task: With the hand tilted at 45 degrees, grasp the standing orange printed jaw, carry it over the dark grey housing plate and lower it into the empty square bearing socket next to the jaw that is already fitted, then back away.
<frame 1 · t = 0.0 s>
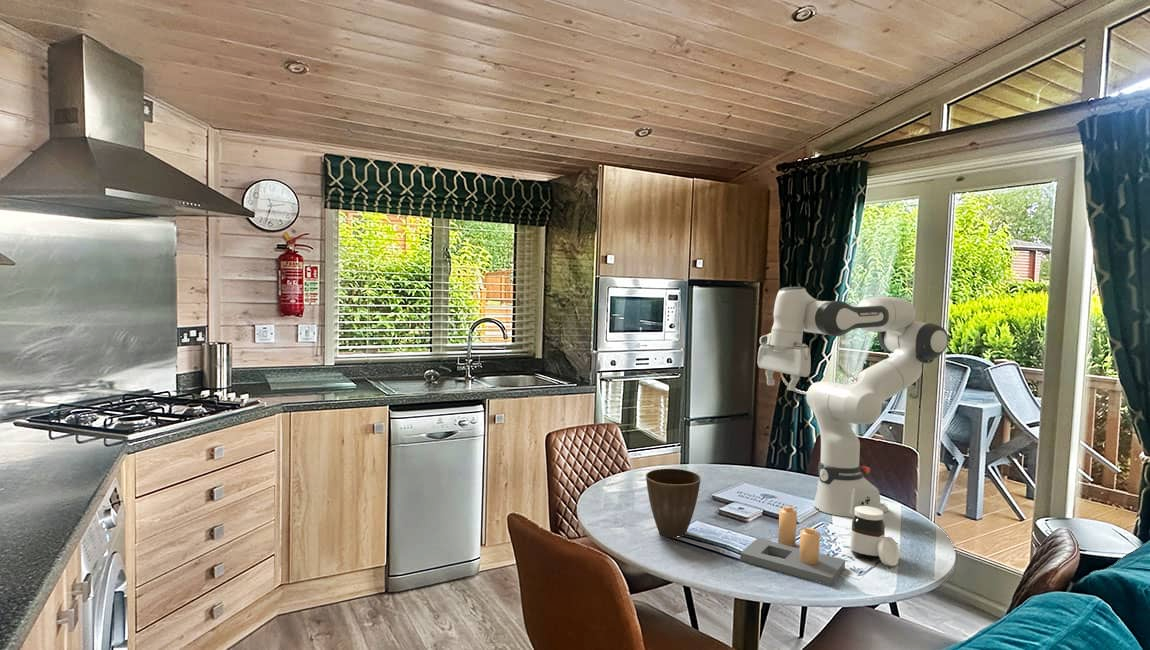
hand: (780, 387, 190), 39 cm above the table, tool pointing down, fingers open, 8 cm apart
housing: (792, 564, 160), on the table
plant pot: (671, 533, 179), on the table
spread jar: (874, 558, 165), on the table
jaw: (786, 543, 173), on the table
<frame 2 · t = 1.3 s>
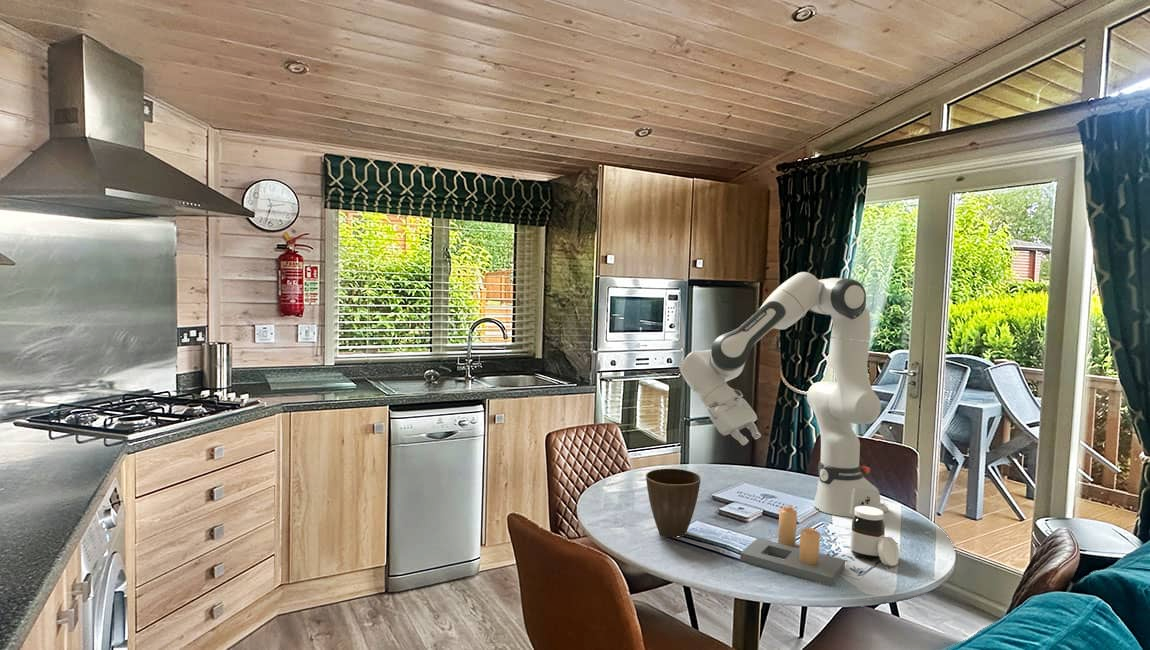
hand: (752, 440, 178), 26 cm above the table, tool tilted 45°, fingers open, 8 cm apart
nothing on the table moved.
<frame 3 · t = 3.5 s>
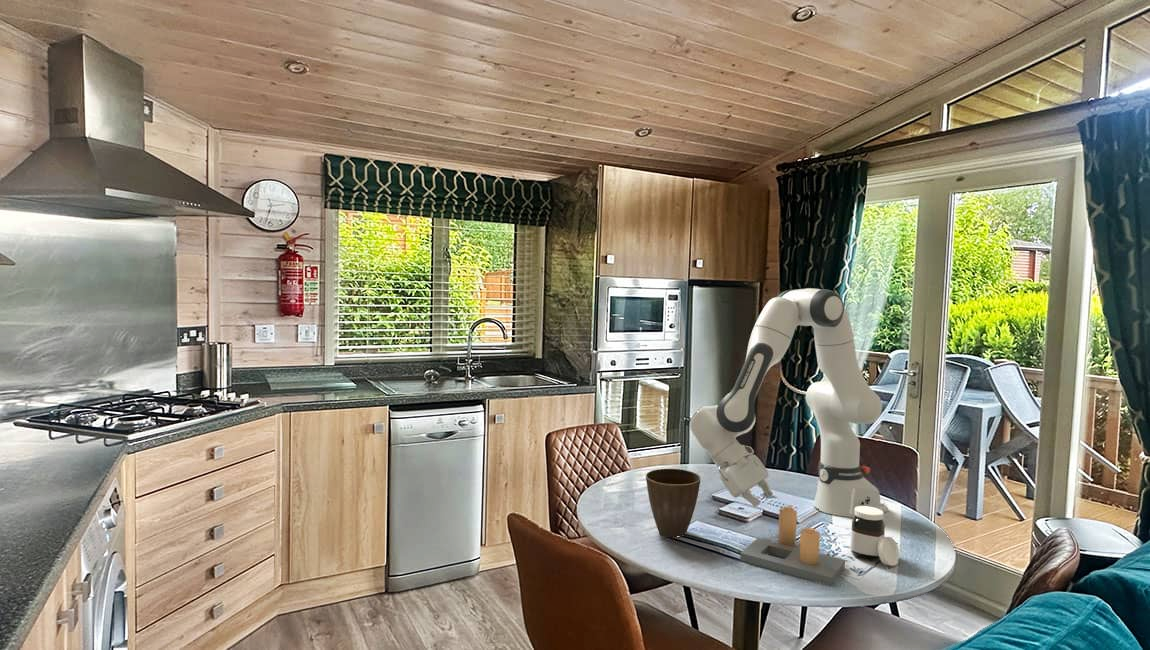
hand: (764, 500, 176), 10 cm above the table, tool tilted 45°, fingers open, 8 cm apart
nothing on the table moved.
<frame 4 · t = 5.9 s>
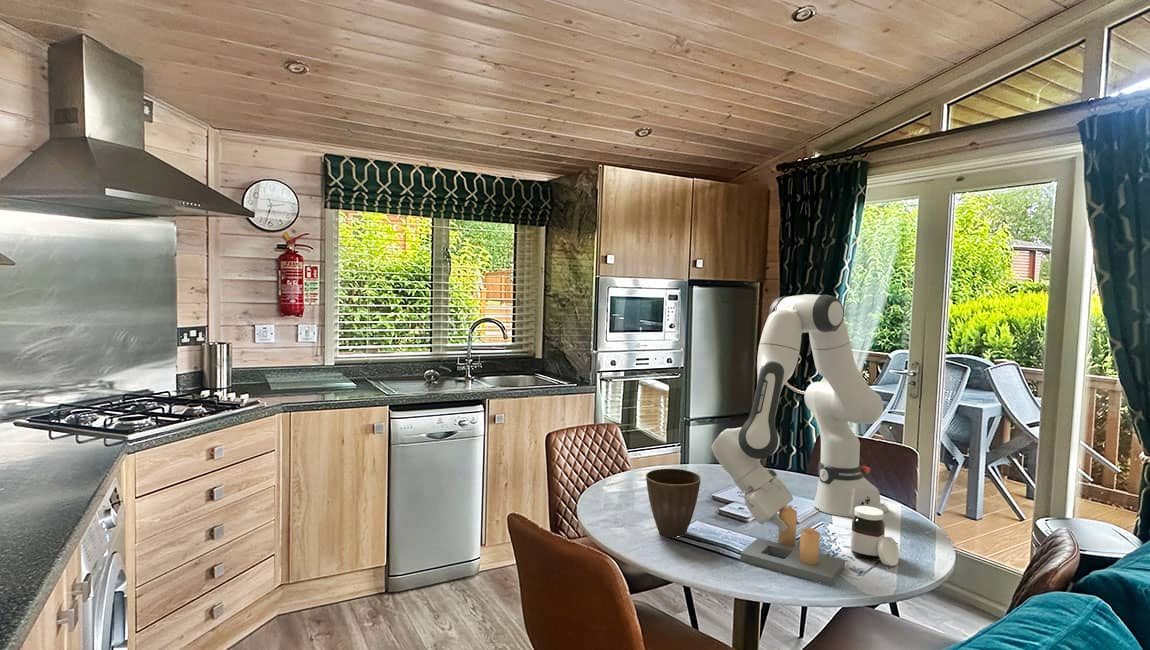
hand: (789, 526, 172), 5 cm above the table, tool tilted 45°, fingers closed on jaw, 4 cm apart
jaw: (786, 543, 173), on the table, touching gripper
everything else where it was.
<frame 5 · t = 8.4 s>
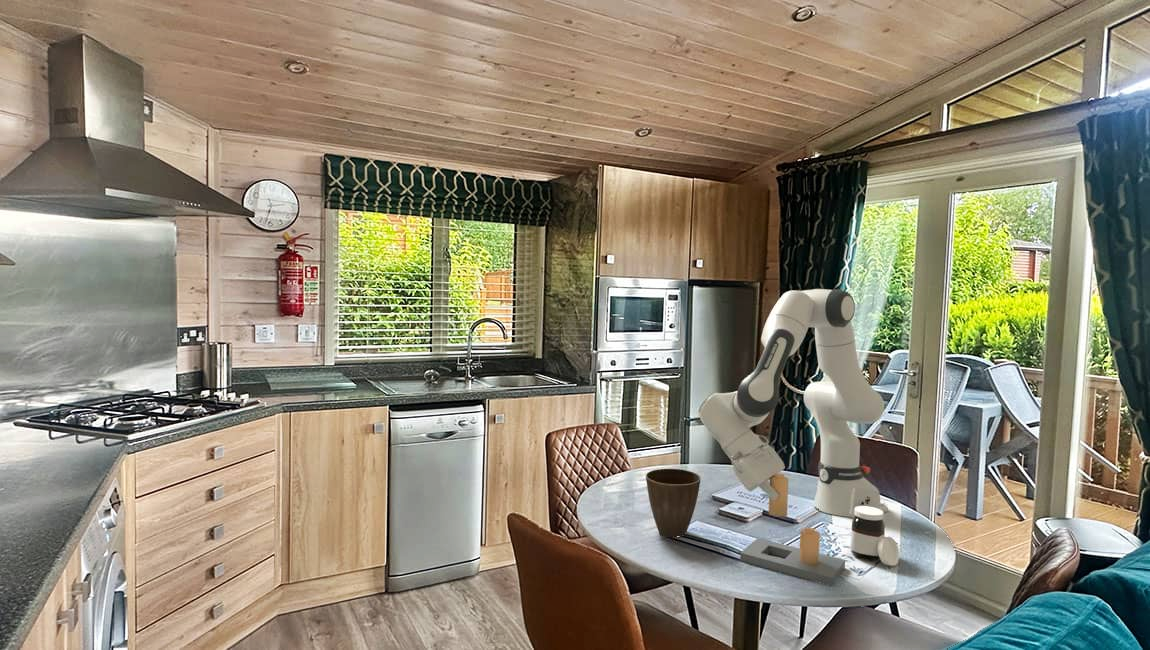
hand: (781, 494, 161), 17 cm above the table, tool tilted 45°, fingers closed on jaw, 4 cm apart
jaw: (777, 513, 162), point 12 cm above the table, touching gripper
everything else where it was.
when the fingers open (7 cm above the table, at t = 10.9 s): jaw drops 2 cm, resting in housing.
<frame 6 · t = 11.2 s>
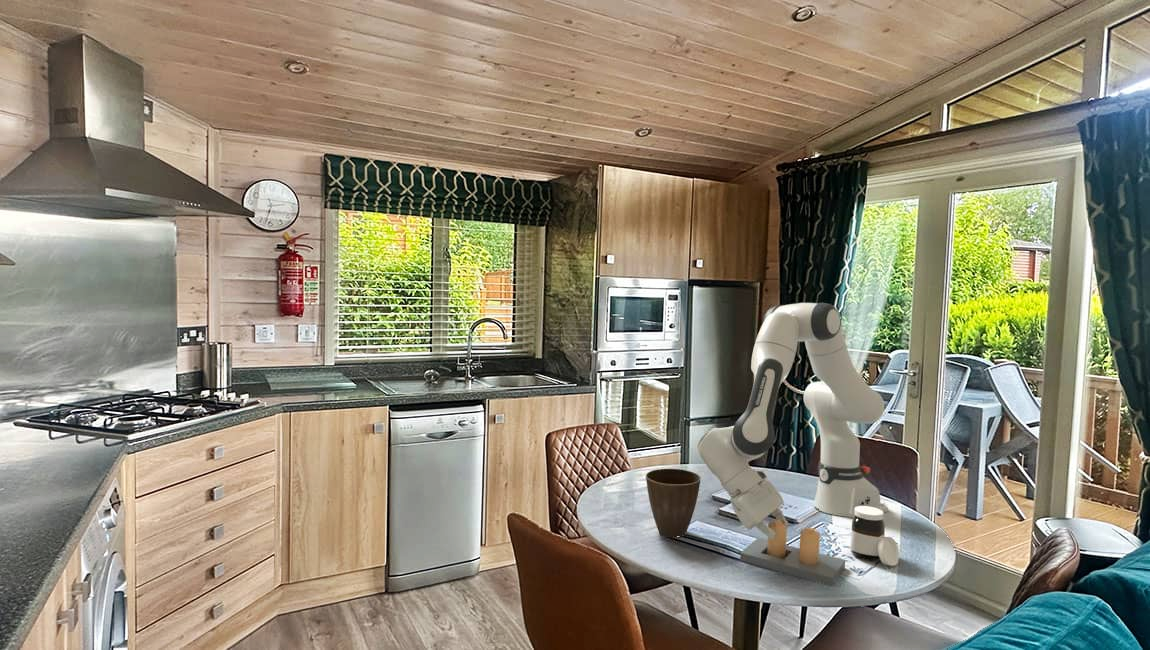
hand: (779, 531, 162), 7 cm above the table, tool tilted 45°, fingers open, 8 cm apart
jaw: (776, 560, 162), resting in housing
everything else where it was.
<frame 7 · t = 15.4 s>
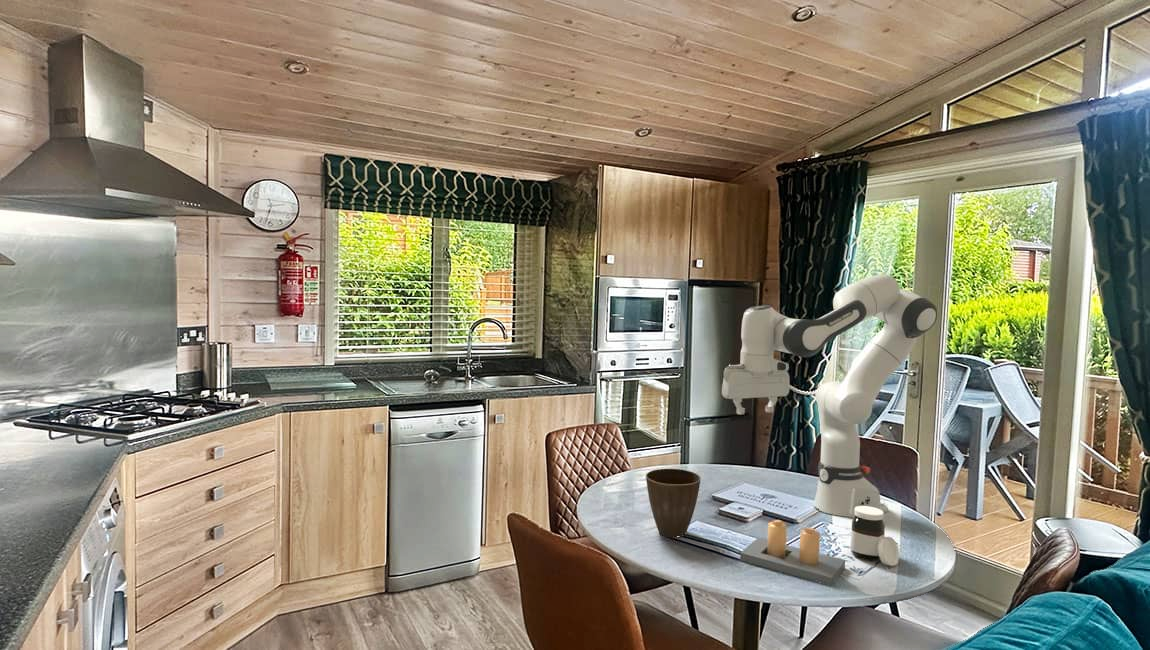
hand: (754, 413, 181), 33 cm above the table, tool pointing down, fingers open, 8 cm apart
nothing on the table moved.
at the end: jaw 0.0 cm from the target spot, resting in housing; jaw tilted 0°; the gripper is holding nothing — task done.
